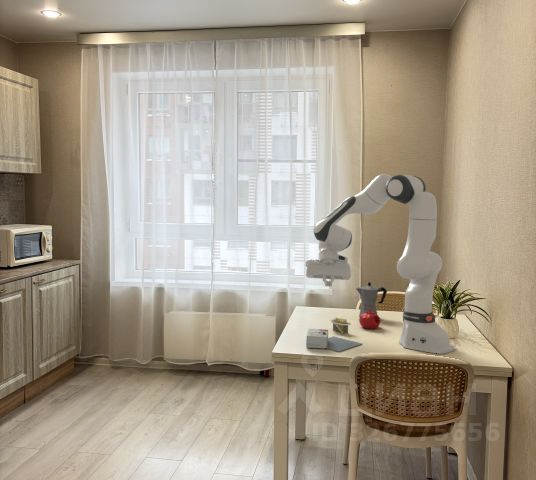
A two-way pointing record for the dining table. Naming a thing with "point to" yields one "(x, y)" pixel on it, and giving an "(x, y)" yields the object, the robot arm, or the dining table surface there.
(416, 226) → the robot arm
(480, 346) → the dining table surface
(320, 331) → the ink box
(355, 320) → the dining table surface
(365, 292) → the coffeepot
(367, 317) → the pomegranate
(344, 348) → the mat
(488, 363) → the dining table surface
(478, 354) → the dining table surface
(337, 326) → the rectangular planter
